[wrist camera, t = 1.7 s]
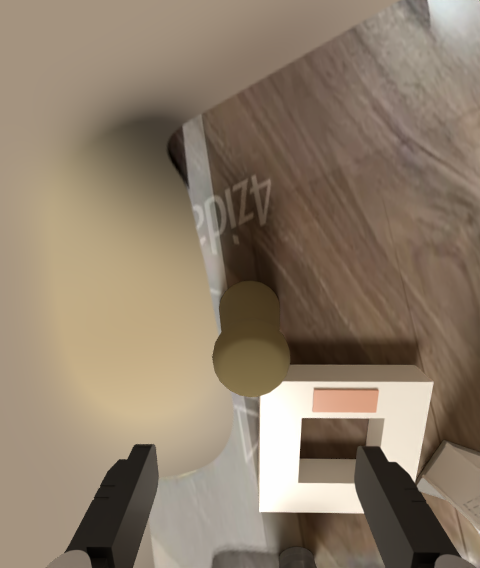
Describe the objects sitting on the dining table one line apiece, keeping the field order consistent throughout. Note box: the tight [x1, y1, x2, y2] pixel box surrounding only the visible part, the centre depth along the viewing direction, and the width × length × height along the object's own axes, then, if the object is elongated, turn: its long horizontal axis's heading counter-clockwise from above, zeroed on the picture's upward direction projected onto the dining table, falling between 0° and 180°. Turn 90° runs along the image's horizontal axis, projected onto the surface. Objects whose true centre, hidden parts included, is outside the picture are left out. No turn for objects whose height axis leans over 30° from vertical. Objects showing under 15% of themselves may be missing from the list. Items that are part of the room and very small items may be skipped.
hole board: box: [258, 365, 433, 513], centre depth 30 cm, size 16×16×3 cm
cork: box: [212, 281, 290, 397], centre depth 23 cm, size 6×6×11 cm
